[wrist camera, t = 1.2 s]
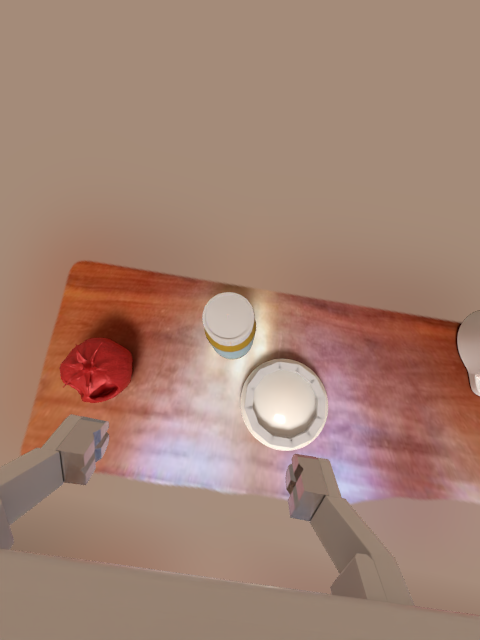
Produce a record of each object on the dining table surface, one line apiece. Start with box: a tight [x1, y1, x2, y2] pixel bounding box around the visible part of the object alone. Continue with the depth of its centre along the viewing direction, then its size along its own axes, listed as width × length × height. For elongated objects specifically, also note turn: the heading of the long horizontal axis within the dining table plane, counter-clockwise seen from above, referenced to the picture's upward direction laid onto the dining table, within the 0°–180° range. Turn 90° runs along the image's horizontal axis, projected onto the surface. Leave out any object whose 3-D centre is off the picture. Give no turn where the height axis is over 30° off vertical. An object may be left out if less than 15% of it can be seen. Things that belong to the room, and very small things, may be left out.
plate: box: [240, 359, 328, 451], centre depth 40 cm, size 14×14×2 cm
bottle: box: [202, 292, 256, 359], centre depth 37 cm, size 7×7×15 cm
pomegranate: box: [60, 338, 133, 403], centre depth 39 cm, size 10×10×9 cm
